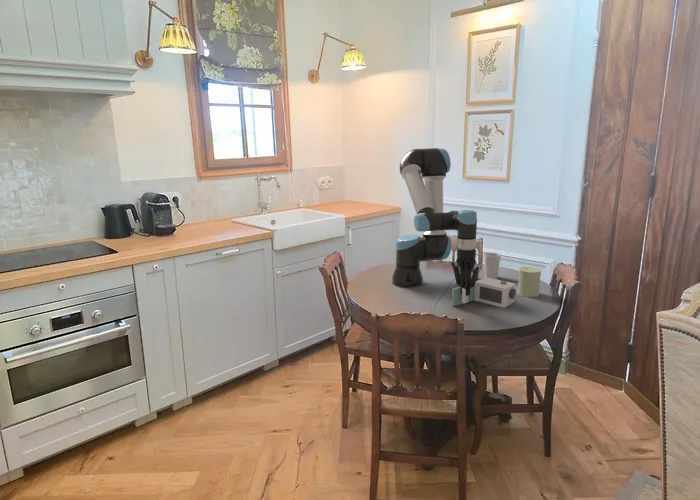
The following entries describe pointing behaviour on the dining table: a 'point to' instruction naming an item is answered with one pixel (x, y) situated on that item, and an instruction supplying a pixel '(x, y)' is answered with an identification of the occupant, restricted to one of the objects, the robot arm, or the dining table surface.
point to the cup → (491, 265)
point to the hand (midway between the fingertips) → (465, 302)
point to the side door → (457, 295)
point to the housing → (495, 292)
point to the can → (529, 281)
